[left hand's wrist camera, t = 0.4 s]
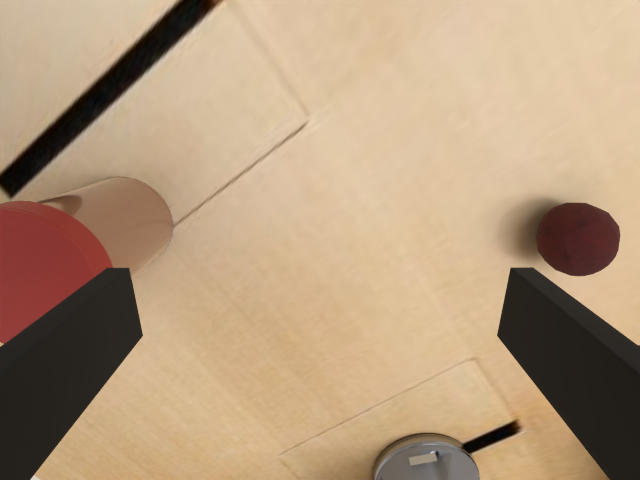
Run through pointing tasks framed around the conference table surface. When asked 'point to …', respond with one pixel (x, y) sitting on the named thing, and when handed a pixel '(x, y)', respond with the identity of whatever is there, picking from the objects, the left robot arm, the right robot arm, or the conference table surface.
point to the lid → (42, 262)
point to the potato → (578, 239)
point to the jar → (121, 219)
